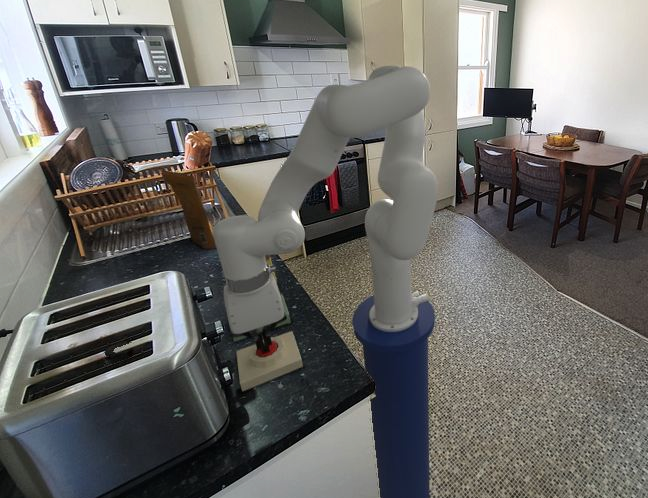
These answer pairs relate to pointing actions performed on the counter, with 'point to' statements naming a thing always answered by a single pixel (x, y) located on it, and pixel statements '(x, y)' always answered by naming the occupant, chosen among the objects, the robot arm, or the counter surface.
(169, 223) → the counter surface
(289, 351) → the button housing
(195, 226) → the pancake mix bag
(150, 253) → the counter surface
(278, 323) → the dial panel
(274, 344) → the button
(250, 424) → the counter surface
